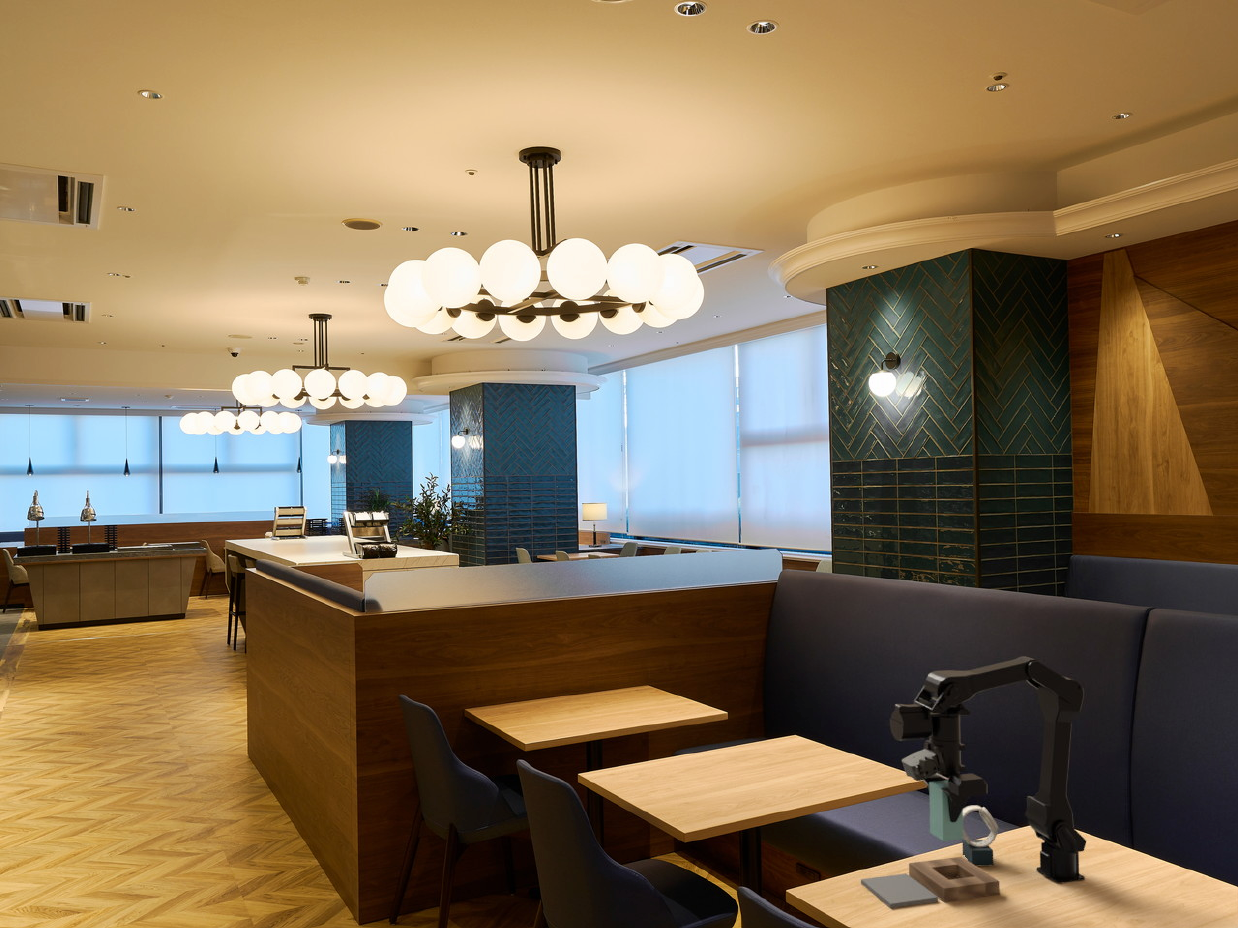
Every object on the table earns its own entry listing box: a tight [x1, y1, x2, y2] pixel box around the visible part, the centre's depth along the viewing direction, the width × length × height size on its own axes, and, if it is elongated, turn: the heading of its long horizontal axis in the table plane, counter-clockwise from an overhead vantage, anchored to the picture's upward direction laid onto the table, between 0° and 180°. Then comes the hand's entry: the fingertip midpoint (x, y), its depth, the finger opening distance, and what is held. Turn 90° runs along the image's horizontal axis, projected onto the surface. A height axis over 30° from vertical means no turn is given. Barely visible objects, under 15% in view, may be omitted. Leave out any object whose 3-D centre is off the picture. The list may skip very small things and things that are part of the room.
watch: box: [961, 804, 1000, 866], centre depth 192 cm, size 6×8×11 cm
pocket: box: [908, 856, 1001, 903], centre depth 180 cm, size 12×12×2 cm
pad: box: [860, 873, 939, 909], centre depth 177 cm, size 10×11×1 cm
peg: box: [928, 780, 964, 842], centre depth 180 cm, size 4×4×10 cm
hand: (946, 817), depth 180 cm, fingers closed on peg, 4 cm apart
